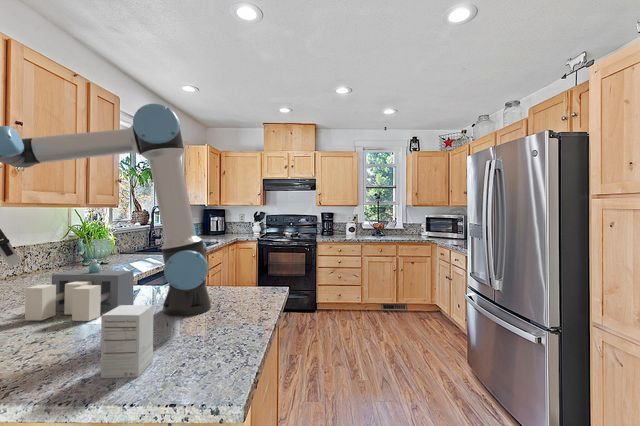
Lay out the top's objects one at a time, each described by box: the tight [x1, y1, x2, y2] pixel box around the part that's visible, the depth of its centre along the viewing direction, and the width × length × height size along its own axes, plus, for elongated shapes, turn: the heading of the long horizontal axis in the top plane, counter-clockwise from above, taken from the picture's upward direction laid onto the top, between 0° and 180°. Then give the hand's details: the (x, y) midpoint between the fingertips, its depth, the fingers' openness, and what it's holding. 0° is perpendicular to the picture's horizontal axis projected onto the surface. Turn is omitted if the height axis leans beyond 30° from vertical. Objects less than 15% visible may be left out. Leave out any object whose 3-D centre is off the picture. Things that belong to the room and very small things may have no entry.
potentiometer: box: [88, 259, 101, 273], centre depth 112 cm, size 3×3×4 cm
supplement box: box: [100, 304, 154, 379], centre depth 68 cm, size 7×7×13 cm
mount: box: [51, 269, 135, 315], centre depth 110 cm, size 22×14×12 cm, turn 90°
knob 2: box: [71, 285, 110, 322], centre depth 103 cm, size 5×13×10 cm, turn 0°
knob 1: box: [24, 284, 65, 321], centre depth 103 cm, size 5×13×10 cm, turn 0°
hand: (9, 258), depth 93 cm, fingers open, 13 cm apart
